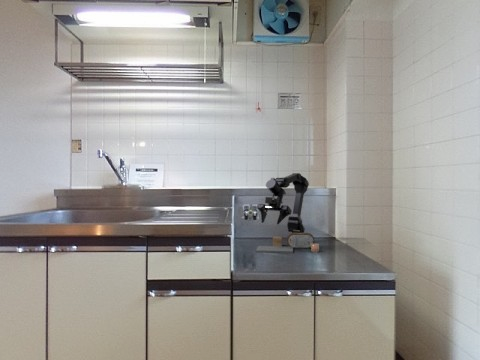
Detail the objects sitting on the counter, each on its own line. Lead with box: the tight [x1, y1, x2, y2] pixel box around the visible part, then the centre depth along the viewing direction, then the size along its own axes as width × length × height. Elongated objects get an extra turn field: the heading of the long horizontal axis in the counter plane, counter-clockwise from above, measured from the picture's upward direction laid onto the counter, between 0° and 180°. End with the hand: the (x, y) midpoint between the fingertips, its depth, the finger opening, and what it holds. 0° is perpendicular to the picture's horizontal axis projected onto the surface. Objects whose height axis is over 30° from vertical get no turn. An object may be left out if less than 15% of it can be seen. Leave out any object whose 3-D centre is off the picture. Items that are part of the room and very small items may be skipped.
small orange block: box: [310, 242, 320, 253], centre depth 172 cm, size 4×4×4 cm
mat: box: [255, 245, 294, 254], centre depth 176 cm, size 12×19×1 cm, turn 82°
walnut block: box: [272, 236, 283, 246], centre depth 188 cm, size 5×5×5 cm
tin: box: [286, 232, 315, 249], centre depth 182 cm, size 15×3×8 cm, turn 84°
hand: (269, 223), depth 174 cm, fingers open, 9 cm apart
